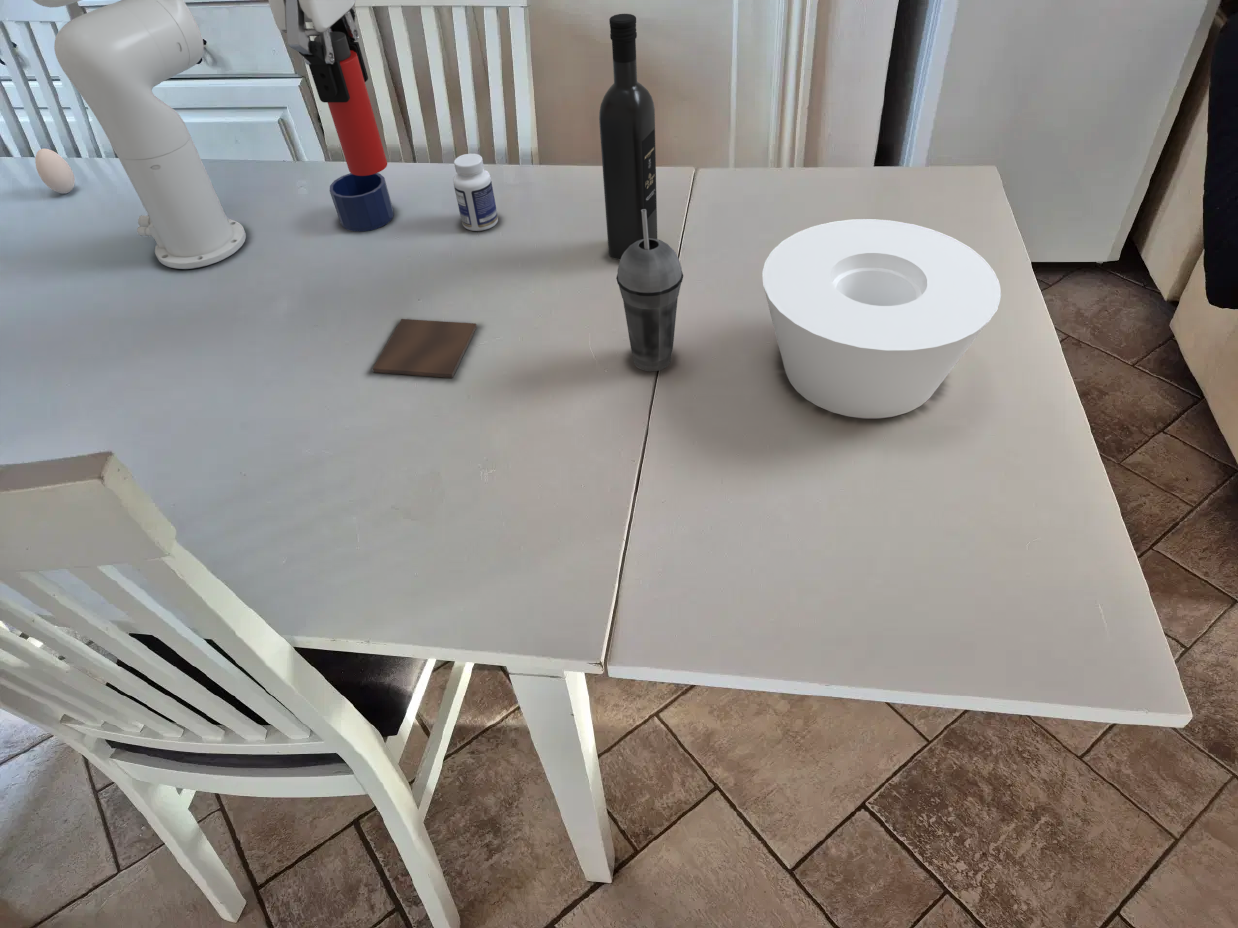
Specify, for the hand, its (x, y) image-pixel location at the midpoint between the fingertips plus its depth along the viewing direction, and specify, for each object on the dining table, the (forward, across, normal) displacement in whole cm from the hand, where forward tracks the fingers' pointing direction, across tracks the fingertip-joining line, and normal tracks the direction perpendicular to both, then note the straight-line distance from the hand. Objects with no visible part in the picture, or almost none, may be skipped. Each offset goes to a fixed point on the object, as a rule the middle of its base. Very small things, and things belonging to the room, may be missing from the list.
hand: (344, 89), depth 87 cm
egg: (+27, -26, -69) cm, 79 cm away
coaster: (+28, +9, +5) cm, 30 cm away
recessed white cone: (+28, +8, +57) cm, 65 cm away
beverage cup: (+28, +8, +33) cm, 45 cm away
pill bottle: (+28, -21, +4) cm, 35 cm away
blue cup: (+27, -21, -14) cm, 37 cm away
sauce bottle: (+9, 0, 0) cm, 9 cm away
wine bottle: (+28, -15, +28) cm, 42 cm away
